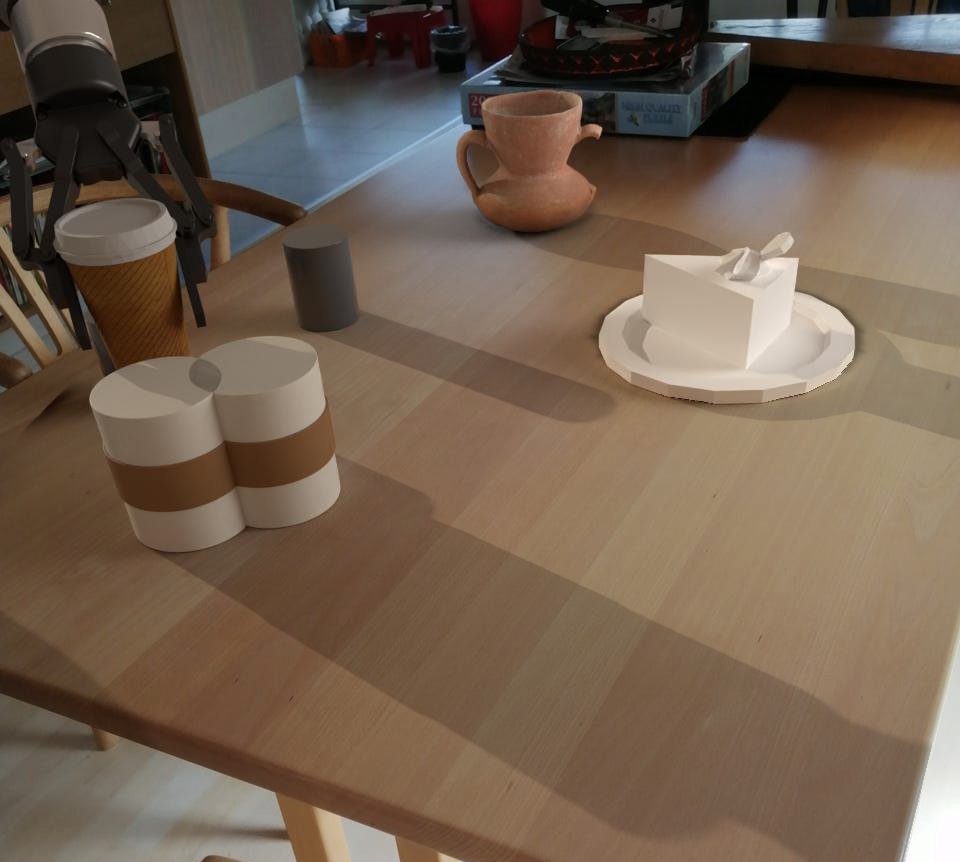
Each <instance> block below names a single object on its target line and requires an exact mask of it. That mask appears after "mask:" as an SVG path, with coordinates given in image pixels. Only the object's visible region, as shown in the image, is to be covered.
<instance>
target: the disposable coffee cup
mask: <svg viewBox="0 0 960 862" xmlns="http://www.w3.org/2000/svg"><path fill="white" fill-rule="evenodd" d="M54 229H55V239H54V242H53V245H54V248H55V250H56V251H57V252H58V253H60V255H61V257H62V259H64V260H65V261H66V263H67V265H68V267H69V269H70V272H71V274H72V276H73V279H74V283H75V285H76V288H77V289H78V291H79V293H80V295H81V297H82V299H83V302H84V304H85V306H86V308H87V310H89V312H90V315H91V317H92V319H93V320H94V323H95V325H96V327H97V329H98V331H99V333H100V336H101V338H102V340H103V342H104V344H105V347H106V348H107V351H108V353H109V355H110V357H111V359H112V361H113V363H114V366H115V368H116V370H119V369H121V368H124V367H126V366H129V365H132V364H134V363H138V362H141V361H146V360H150V359H156V358H163V357H175V356H183V357H190V355H191V352H190V345H189V339H188V333H187V332H188V331H187V323H186V317H185V311H184V310H185V309H184V302H183V301H184V300H183V294H182V287H181V279H180V272H179V265H178V255H177V251H176V246H175V241H174V240H175V238H177V237H176V233H175V232H176V230H177V223H176V221H175V220H174V219H173V218H172V217H170V215H169V213H168V211H167V209H166V207H165V205H164V204H163V203H161V202H159V201H156V200H150V199H144V198H142V197H126V198H125V197H124V198H116V199H109V200H108V199H107V200H103V201H98V202H95V203H94V202H93V203H91V204H87V205H86V204H85V205H84V206H80V207H77V208H74V210H73V211H71V212H69V213H67V214H65V215H63V216H62V217H61V218H59V219H58V220H57V221H56V223H55V225H54Z"/></svg>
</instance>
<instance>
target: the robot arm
mask: <svg viewBox="0 0 960 862" xmlns="http://www.w3.org/2000/svg"><path fill="white" fill-rule="evenodd" d="M9 31H10V32H11V36H12V39H13V43H14V47H15V49H16V53H17V57H18V61H19V64H20V68H21V71H22V73H23V75H24V82H25V86H26V90H27V94H28V98H29V101H30V104H31V105H30V106H31V109H32V112H33V116H34V119H35V124H36V125H35V130H34V133H33V137H31V138H29V139H25V140H21V141H19V142H16V141H15V140H14V139H12V138H10V137H5V138H3V139H1V140H0V150H1V152H2V155H3V156H4V158H5V161H6V163H7V165H8V174H9V177H8V178H9V200H10V201H9V203H10V225H11V226H10V227H11V250H12V254H13V256H14V257H15V260H16V261H17V263H18V265H19V266H20V268H21V269H22V270H23V271H25V272H31V271H39V272H40V271H41V272H42V273H43V275H44V278H45V283H46V287H47V291H48V294H49V297H50V300H51V302H52V303H53V306H54V307H55V308H56V309H57V310H58V311H62V310H67V309H68V312H69V316H70V320H71V323H72V328H73V331H74V333H75V334H74V335H75V338H76V340H77V342H78V344H79V346H80V348H81V350H82V352H84V351H89V350H93V346H92V343H91V342H92V341H91V339H90V338H91V337H90V334H89V330H88V327H87V324H86V321H85V317H84V316H85V315H84V312H83V308H82V305H81V301H80V298H79V294H78V290H77V286H76V282H75V280H74V278H73V276H72V274H71V272H70V269H69V267H68V265H67V263H66V261H65V260H64V259H62V257H61V255H60V253H58V252H57V251H56V250H55V248H54V245H53V242H54V239H55V229H54V225H55V223H56V221H57V220H58V219H59V218H61V217H62V216H63V215H65V214H67V213H69V212H71V211H73V210H75V209H76V203H77V200H78V199H79V198H80V193H81V189H82V186H83V187H87V186H94V185H96V184H98V183H100V182H117V181H118V182H119V181H122V179H124V180H125V181H126V183H127V184H128V185H129V186H130V187H131V188H132V189H133V190H134V191H136V193H138V195H140V198H144V199H150V200H156V201H159V202H161V203H163V204H164V205H165V207H166V209H167V211H168V213H169V215H170V217H172V218H173V219H174V220H175V221H176V223H177V230H176V232H175V233H176V237H175V240H174V241H175V248H176V256H177V260H178V262H179V265H180V266H179V267H180V269H181V272H182V273H181V274H182V276H183V280H184V284H185V286H186V291H187V295H188V299H189V302H190V305H191V309H192V312H193V313H192V314H193V316H194V320H195V323H196V327H197V329H199V328H200V329H201V328H205V327H207V321H206V315H205V311H204V308H203V304H202V299H201V296H200V292H199V289H198V285H200V284H206V283H208V277H209V276H208V268H207V265H206V261H205V258H204V254H203V250H202V247H201V245H202V243H203V242H204V241H205V240H208V239H213V238H214V239H215V238H216V237H217V235H218V226H217V217H216V214H215V212H214V210H213V208H212V206H211V204H210V202H209V200H208V198H207V197H206V195H205V193H204V191H203V189H202V187H201V185H200V183H199V181H198V179H197V178H196V176H195V174H194V172H193V170H192V167H191V166H190V164H189V162H188V159H187V158H186V156H185V154H184V152H183V150H182V149H181V146H180V144H179V143H178V138H177V136H178V135H177V132H176V126H175V120H174V118H173V116H172V115H170V113H169V114H168V113H162V114H161V115H159V117H158V120H148V121H147V120H144V121H141V120H140V118H139V117H138V116H137V115H136V114H135V113H134V112H133V110H132V108H131V104H130V101H129V97H128V94H127V89H126V87H125V83H124V80H123V76H122V73H121V69H120V66H119V64H118V62H117V61H118V60H117V56H116V51H115V47H114V43H113V39H112V37H111V33H110V29H109V25H108V22H107V18H106V15H105V12H104V9H103V7H102V3H101V0H0V34H2V33H4V32H5V33H6V32H9ZM144 140H147V141H149V142H150V144H151V146H152V147H153V149H154V150H156V151H157V152H159V153H163V156H164V160H165V162H166V165H167V167H168V169H169V171H170V173H171V175H172V177H173V179H174V180H175V183H176V185H177V186H178V188H179V190H180V193H181V194H182V196H183V198H184V200H185V202H186V204H187V206H188V208H189V210H190V211H191V213H192V215H193V217H194V219H192V220H191V219H190V218H189V217H188V216H187V215H186V214H185V212H184V211H183V210H182V209H181V207H180V206H179V205H178V204H177V203H176V201H175V200H173V198H172V197H171V196H170V195H169V193H167V191H166V189H164V188H163V187H162V186H161V184H160V183H159V182H158V181H157V180H156V179H155V177H154V176H153V175H152V174H151V173H150V171H148V169H147V168H146V167H145V166H144V164H143V163H142V161H141V159H140V157H139V156H137V155H138V152H139V150H140V147H141V145H142V143H143V141H144ZM40 156H41V157H43V158H44V159H45V160H46V161H48V162H49V163H50V164H51V165H52V166H54V167H55V168H54V172H53V173H54V181H53V186H52V190H51V194H50V199H49V202H48V208H47V211H46V216H45V221H44V225H43V230H42V233H41V238H40V243H39V246H38V247H36V236H35V212H34V211H35V210H34V189H33V187H34V186H33V181H32V178H31V177H32V176H31V175H30V174H33V173H34V172H35V170H36V168H37V159H38V158H39V157H40Z"/></svg>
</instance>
